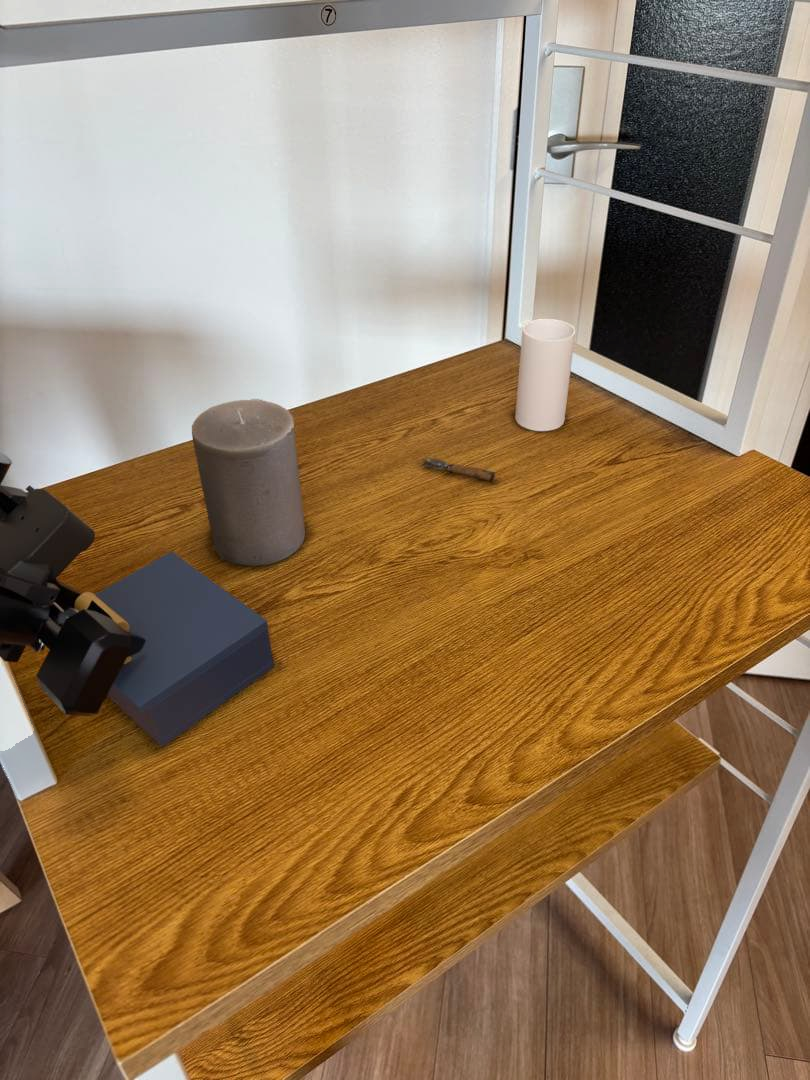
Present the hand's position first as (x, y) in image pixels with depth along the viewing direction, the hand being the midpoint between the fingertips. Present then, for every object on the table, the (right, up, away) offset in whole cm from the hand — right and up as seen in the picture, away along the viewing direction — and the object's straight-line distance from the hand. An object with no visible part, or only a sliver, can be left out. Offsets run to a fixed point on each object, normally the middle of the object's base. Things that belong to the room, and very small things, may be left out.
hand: (124, 628), depth 67 cm
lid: (+2, 0, +3) cm, 3 cm away
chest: (+2, -4, +6) cm, 8 cm away
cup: (+40, +22, +38) cm, 60 cm away
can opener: (+29, +15, +29) cm, 43 cm away
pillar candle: (+7, +7, +20) cm, 23 cm away
